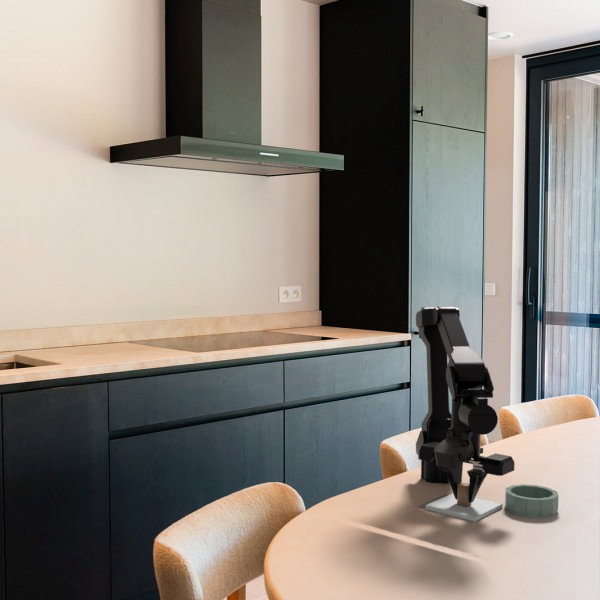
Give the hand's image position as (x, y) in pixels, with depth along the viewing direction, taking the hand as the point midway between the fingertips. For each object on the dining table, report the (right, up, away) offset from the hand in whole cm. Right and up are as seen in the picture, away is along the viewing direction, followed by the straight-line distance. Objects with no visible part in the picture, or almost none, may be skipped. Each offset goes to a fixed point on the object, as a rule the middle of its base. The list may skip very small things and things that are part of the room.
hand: (464, 500), depth 164 cm
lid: (0, -2, 0) cm, 2 cm away
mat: (-1, -2, +1) cm, 2 cm away
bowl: (+13, -2, 0) cm, 14 cm away
